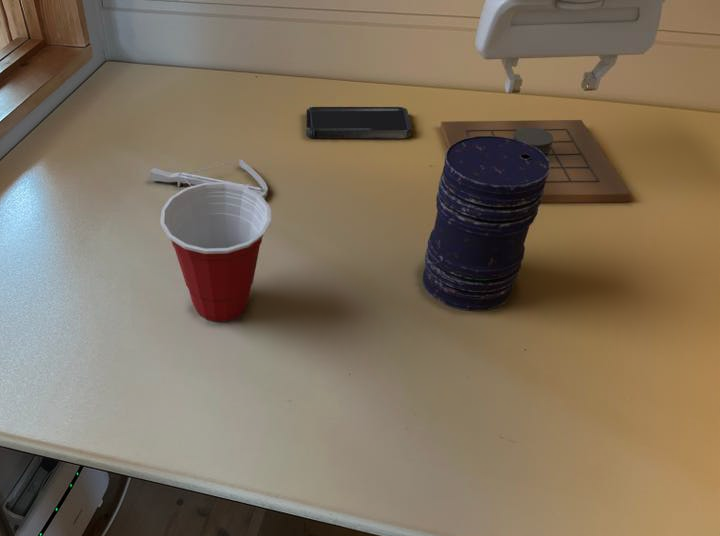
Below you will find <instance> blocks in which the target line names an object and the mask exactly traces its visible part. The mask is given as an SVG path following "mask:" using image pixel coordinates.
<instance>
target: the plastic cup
mask: <svg viewBox="0 0 720 536" xmlns="http://www.w3.org/2000/svg"><path fill="white" fill-rule="evenodd" d="M191 186H192V187H191ZM191 186H188V187H185V188H183V189H182V190H180V191H178V192H177V193H175V194H173V195H172V196H171V197H169V199H168V200H167V201H166V203H165V204H164V206H162V208H161V210H160V226H161V228H162V229H163V231H164V232H165V234H166V236H167V237H168V240H169V241H171V244H172V247H173V248H174V252H175V254H176V257H177V260H178V263H179V267H180V270H181V273H182V276H183V279H184V282H185V286H186V287H187V289H188V292H189V295H190V299H191V302H192V305H193V307H194V308H195V310H196V312H197V314H198V315H199V316H200V317H202V318H204V319H205V320H208V321H212V322H217V323H219V322H229V321H232V320H236V319H237V318H238V317H240V316H242V315H243V314H244V312H245V311H246V309H247V307H248V304H249V302H250V297H251V290H252V285H253V284H254V279H255V273H256V268H257V263H258V257H259V252H260V247H261V245H262V242H263V238H264V235H265V234H266V232H267V230H268V228H269V226H270V225H271V222H272V212H271V206H270V205H269V204H268V202H267V201H266V199H265V200H264V198H263V197H262V196H261V195H260V194H258V193H256V192H255V191H253V190H251V189H249V188H247V187H245V186H241V185H236V184H232V183H227V182H216V183H203V184H199V185H191Z"/></svg>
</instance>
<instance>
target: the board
mask: <svg viewBox="0 0 720 536" xmlns="http://www.w3.org/2000/svg"><path fill="white" fill-rule="evenodd" d="M525 127H534V128H540V129H543V130H546V131H548V132H549V133H551V134H552V135H553V138H554V139H553V143H552V146H551V149H550V153H549V156H548V160H549V162H550V170H549V173H548V176H547V179H546V182H545V186H544V192H543V196H542V200H541V203H540V204H552V203H553V204H556V203H557V204H559V203H560V204H561V203H562V204H563V203H566V204H568V203H569V204H570V203H575V204H576V203H577V204H578V203H579V204H580V203H629V200H630V198H631V195H632V193H631V191H630V190H629V189H628V187H627V186H626V184H625V183H624V181H623V180H622V179H621V177H620V175H619V174H618V172H617V171H616V169H615V168H614V166H613V165H612V163H611V161H609V159H608V157H607V155H605V153H604V152H603V149H602V148H601V147H600V145H599V144H598V142H597V141H596V140H595V138H594V136H593V135H592V133H591V132H590V130H589V129H588V127H587V126H586V125H585V123H584V122H583V120H582V119H543V120H541V119H539V120H537V119H535V120H534V119H533V120H466V121H464V120H463V121H459V120H457V121H456V120H454V121H450V120H449V121H441V122H440V127H439V130H440V133H441V135H442V138H443V142H444V144H445V147H446V151H447V150H448V149H449V147H450V146H452V145H453V144H454V143H456V142H458V141H460V140H463V139H466V138H470V137H477V136H499V137H506V138H511V139H513V135H514V132H515V131H516V130H518V129H520V128H525Z"/></svg>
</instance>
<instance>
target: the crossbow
mask: <svg viewBox="0 0 720 536" xmlns="http://www.w3.org/2000/svg"><path fill="white" fill-rule="evenodd" d="M237 162H239V167H240V168H242V169H243V170H244V171H246V172H247V173H248V174H249V175H251V177H253V178H254V179H255V181H256V182H257V183H258V184H259V185H260V187H258V186H253V185H251V183H246V184H243V183H238V182H234V181H233V182H232V181H228V180H224V179H218V178H212V177H207V176H203V175H199V174H193V173H196V172H199V171H200V172H201V171H205V170H208V169H213V168H216V167H221V166H226V165H230V164H233V163H237ZM149 176H150V178H149V179H150V181H154V182H163V183H176V182H177V188H180V187H181V185H182V184H183V186H185V185H186V184H188V185H189V187H192V186H195V185H199V184H203V183H216V182H227V183H232V184H236V185H241V186H245V187H247V188H249V189H251V190H253V191H255V192H256V193H258V194H260V195H261V196H262V197H263V198H264V200H265V201H266V197H267V196H268V195H269V194H268V193H269V188H268V185H267V183H266V181H265V180H264V179H263V177H262V176H260V174H259V173H258V172H256V170H254V168H252V167H251V166H250V165H248V164H247V163H246V162H245V161H244V160H243V159H238V160H235V161H231V162H226V163H223V164H218V165H214V166H209V167H205V168H201V169H198V170H193V171H188V172H187V171H183V172H181V171H179V172H170V171H166V170H162V169H159V168H155V167H152V168H151V170H149Z"/></svg>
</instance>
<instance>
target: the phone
mask: <svg viewBox="0 0 720 536" xmlns="http://www.w3.org/2000/svg"><path fill="white" fill-rule="evenodd" d="M305 112H306V115H305V116H306V117H305V118H306V119H305V120H306V121H305V125H306V126H305V127H306V128H305V135H306V136H307V137H308V138H311V139H408V138H410V137H411V132H412V124H411V120H410V115H409V111H408V109H407V108H405V107H403V106H310V107H308V108H306V111H305Z"/></svg>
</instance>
